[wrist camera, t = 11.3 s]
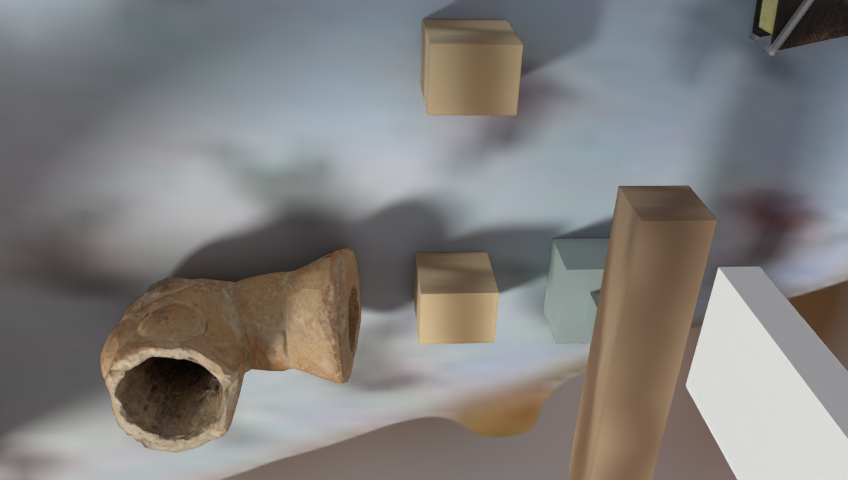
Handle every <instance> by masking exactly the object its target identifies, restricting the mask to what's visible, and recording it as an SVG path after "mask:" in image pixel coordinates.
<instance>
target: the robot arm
mask: <svg viewBox="0 0 848 480" xmlns="http://www.w3.org/2000/svg"><path fill="white" fill-rule="evenodd" d="M686 387H687V389H688V391H689V393H690V395H691V396H692V398H693V400H694V402H695V404H696V405H697V407H698V409H699V411H700V412H701V415H702V416H703V418H704V420H705V422H706V424H707V425H708V427H709V429H710V431H711V433H712V434H713V436H714V438H715V440H716V442H717V444H718V445H719V447H720V449H721V451H722V452H723V454H724V456H725V458H726V460H727V462H728V463H729V465H730V467H731V469H732V471H733V472H734V474H735V476H736V478H737V480H848V372H847V370H846V369H845V368H844V367H843V366H842V365H841V363H840V362H839V361H838V360H837V359H836V357H835V356H834V355H833V354H832V352H830V350H829V349H828V348H827V347H826V345H825V344H824V343H823V342H822V341H821V340H820V338H819V337H818V336H817V335H816V333H815V332H814V331H813V330H812V329H811V327H810V326H809V325H808V324H807V323H806V321H805V320H804V319H803V318H802V317H801V315H800V314H799V313H798V312H797V311H796V310H795V308H794V307H793V306H792V305H791V304H790V302H789V301H788V300H787V299H786V298H785V296H784V295H783V294H782V293H781V292H780V290H779V289H778V288H777V287H776V286H775V284H774V283H773V282H772V281H771V280H770V278H769V277H768V276H767V275H766V274H765V273H764V271H763V270H762V269H761V268H760V267H718V271H717V274H716V278H715V281H714V285H713V289H712V292H711V296H710V300H709V303H708V307H707V311H706V314H705V318H704V321H703V325H702V329H701V333H700V336H699V340H698V343H697V347H696V350H695V354H694V358H693V361H692V365H691V369H690V373H689V376H688V380H687V383H686Z"/></svg>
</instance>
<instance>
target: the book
mask: <svg viewBox="0 0 848 480" xmlns="http://www.w3.org/2000/svg"><path fill="white" fill-rule="evenodd" d="M768 35H772V40H771V46H770V48H769V47H768V46H765V48H764V49H763V50H764V51H765V52H767V53H768V54H770V55H772V56H774V55H775V54H776V52H777V51H778V50H782V49H787V48H791V47H796V46H801V45H805V44H810V43H815V42H819V41H824V40H829V39H833V38H838V37H843V36H847V35H848V0H757V4H756V11H755V18H754V25H753V32H752V34H751V35H750V38H751V39H753V40H755V41H756V42H758V40H759V39H760V37H762V36H768Z"/></svg>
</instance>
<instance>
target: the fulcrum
mask: <svg viewBox="0 0 848 480" xmlns="http://www.w3.org/2000/svg"><path fill="white" fill-rule="evenodd" d="M608 244H609V238H571V239H553V241H552V248H551V256H550V263H549V271H548V278H547V286H546V293H545V301H544V308H543V310H544V313H545V316H546V319H547V321H548V324H549V327H550V330H551V332H552V335H553V338H554V341H555V343H556V344H561V343H591V340H592V335H593V329H594V323H595V318H596V312H597V306H598V301H599V295H600V289H601V284H602V278H603V272H604V267H605V261H606V255H607V250H608Z"/></svg>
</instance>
